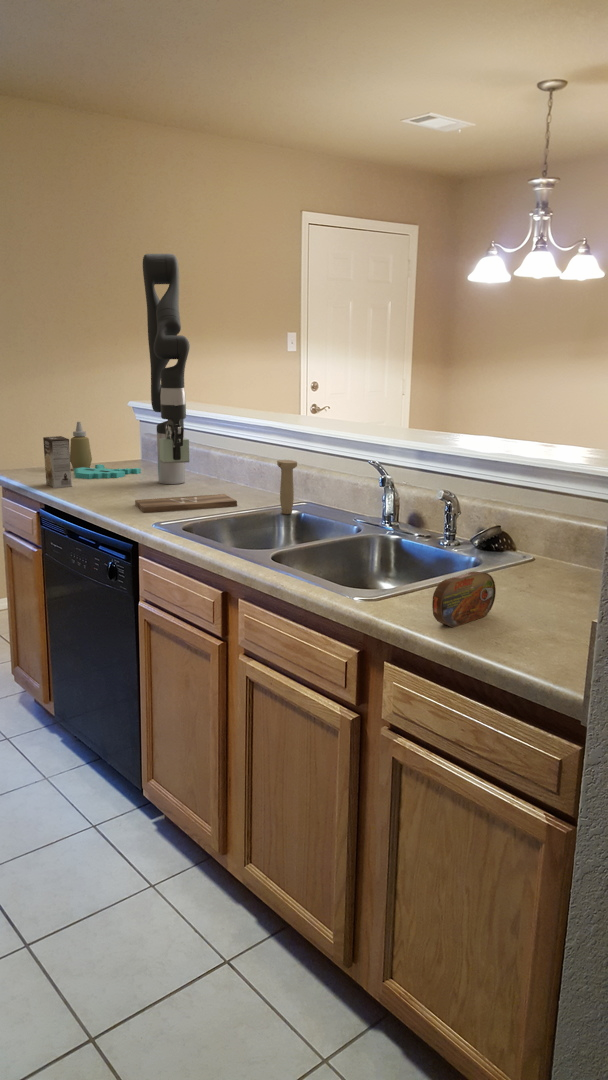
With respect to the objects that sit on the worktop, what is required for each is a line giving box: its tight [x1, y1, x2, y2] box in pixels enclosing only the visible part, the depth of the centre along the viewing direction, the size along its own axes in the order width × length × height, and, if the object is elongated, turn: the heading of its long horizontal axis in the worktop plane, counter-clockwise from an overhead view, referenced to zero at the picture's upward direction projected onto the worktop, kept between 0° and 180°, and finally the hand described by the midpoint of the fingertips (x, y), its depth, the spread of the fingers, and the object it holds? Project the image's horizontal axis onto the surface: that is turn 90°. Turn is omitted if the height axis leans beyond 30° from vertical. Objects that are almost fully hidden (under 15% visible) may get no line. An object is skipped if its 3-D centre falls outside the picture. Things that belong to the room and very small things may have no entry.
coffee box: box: [42, 435, 73, 489], centre depth 270 cm, size 9×6×16 cm
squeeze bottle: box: [69, 421, 93, 470], centre depth 302 cm, size 8×8×18 cm
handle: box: [276, 459, 298, 515], centre depth 229 cm, size 5×6×15 cm
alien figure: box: [73, 463, 142, 480], centre depth 294 cm, size 20×2×20 cm
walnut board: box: [134, 493, 238, 513], centre depth 240 cm, size 12×28×2 cm, turn 113°
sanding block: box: [159, 437, 190, 464], centre depth 248 cm, size 5×8×7 cm, turn 113°
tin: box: [431, 571, 497, 628], centre depth 143 cm, size 15×3×8 cm, turn 130°
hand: (174, 458), depth 248 cm, fingers closed on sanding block, 5 cm apart
